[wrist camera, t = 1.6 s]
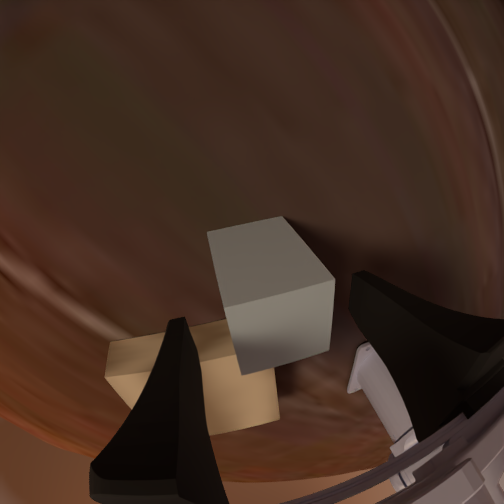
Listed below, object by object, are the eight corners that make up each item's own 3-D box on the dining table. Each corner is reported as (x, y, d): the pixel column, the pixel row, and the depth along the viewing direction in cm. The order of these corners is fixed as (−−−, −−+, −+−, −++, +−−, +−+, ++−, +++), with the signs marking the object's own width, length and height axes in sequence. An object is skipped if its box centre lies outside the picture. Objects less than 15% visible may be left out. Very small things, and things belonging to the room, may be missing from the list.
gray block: (282, 216, 15) (335, 279, 10) (286, 277, 17) (329, 350, 12) (206, 232, 14) (224, 307, 9) (220, 293, 16) (241, 375, 11)
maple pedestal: (258, 311, 18) (271, 345, 15) (270, 391, 23) (279, 419, 20) (110, 341, 16) (104, 377, 14) (161, 413, 21) (163, 441, 19)
